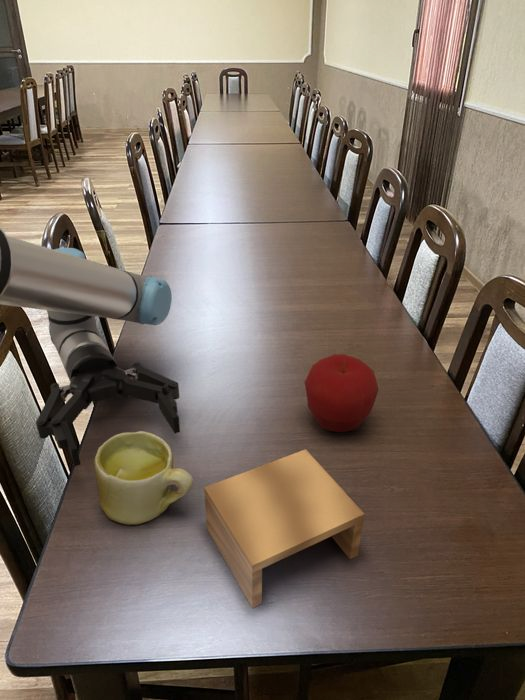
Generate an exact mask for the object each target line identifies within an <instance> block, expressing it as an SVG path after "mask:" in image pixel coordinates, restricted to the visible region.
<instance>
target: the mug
mask: <svg viewBox="0 0 525 700" xmlns="http://www.w3.org/2000/svg"><path fill="white" fill-rule="evenodd" d="M93 464H94V472H95V478H96V483H97V489H98V500H99V506H100V507H101V509H102V511H103V512H104V514H105V516H106V517H108V518H109V520H112V521H114V522H116V523H119V524H121V525H122V524H123V525H130V526H131V525H135V526H136V525H140V524H143V523H146V522H150V521H152V520H154V519H155V518H157V517H159V516H160V515H162V514H163V513H164V512H165V511H166V510H167V509H168V507H169V506H170V504H172V503H174V502H176V501H178V500H179V499H182V498H183V497H184V496H185V495H186V494H187V493H188V492H189V490H190V489H191V488H192V486H193V484H194V478H193V477H192V475H191V474H190V473H189V472H187V471H186V470H184V469H183V468H180V467H174V455H173V451H172V449H171V447H170V445H169V444H168V442H167V441H165V440H164V439H163V438H162V437H160V436H158V435H156V434H155V433H152V432H149V431H143V430H139V431H136V432H135V431H134V432H129V431H128V432H127V431H126V432H121V433H117V434H115V435H113V436H112V437H109V438H108V439H107V440H106V441H104V442H103V443H102V445H100V446H99V447H98V448H97V451H96V453H95V456H94V461H93ZM171 486H176V487H177V488H175V489H174V490H171Z"/></svg>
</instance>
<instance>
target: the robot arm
mask: <svg viewBox="0 0 525 700" xmlns="http://www.w3.org/2000/svg"><path fill="white" fill-rule="evenodd" d="M172 297H173V296H172V290H171V287H170V284H169V282H167V280H165V279H163V278H159V277H154V276H152V275H143V274H138V273H134V272H131V271H126V270H122V269H121V268H117V267H115V266H114V267H113V266H110V265H107V264H104V263H101V262H97V261H94V260H90V259H87V258H86V256H85V253H84V252H83V251H81V250H80V249H77V248H74V247H60V248H55V249H53V248H49V247H45V246H42V245H39V244H35V243H32V242H29V241H26V240H22V239H19V238H16V237H12V236H9V235H7V234H6V232H5V231H4V230H3V228H2V227H0V305H2V306H10V307H19V308H25V309H26V308H27V309H33V310H42V311H46V312H47V320H48V333H49V336H50V341H51V344H52V345H53V346H54V348H55V350H56V352H57V354H58V356H59V358H60V361H61V363H62V366H63V368H64V371H65V373H66V375H67V378H68V380H69V381H70V383H69V384H67V385H63V386H60V384H59V383H58V382H54V383H51V384H50V386H49V387H50V393H49V396H48V397H47V399H46V402H45V403H44V406H43V408H42V409H41V412H40V414H39V415H38V417H37V419H36V421H35V425H36V429H37V433H38V436H39V439H42V440H43V439H47V438H48V437H49V436H53V438H54V440H55V442H56V444H57V448H58V449H60V450H62V449H65V448H67V449H68V451H69V454H70V458H71V460H72V463H73V465H74V467H77V466H80V465H81V459H80V455H79V451H78V450H79V449H78V447H77V445H76V441H75V439H74V436H73V434H72V431H71V429H70V427H71V426H72V424H73V423H74V422H75V421H76V419H77V418H78V416H80V414H81V413H82V412H83V411H84V410H87V409H88V408H89V407H90V405H91V404H92V402H94V403H98V402H101V401H103V400H105V399H112V398H115V397H120V398H124V399H128V397H130V398H135V399H138V400H143V401H146V402H151V403H154V404H158V409H159V411H160V412H161V414H162V416H163V417H164V419H165V420H166V422H167V424H168V426H170V428H171V430H172V431H173V433H174V434H178V433H180V432H181V426H180V417H179V415H178V403H177V401H176V400H178V399H180V385H179V382H177V381H175V380H173V379H170V378H168V377H166V376H163V375H162V374H159V373H157V372H155V371H153V370H150V369H148V368H146V367H144V366H143V364H141V363H140V362H138V361H136V362H133V363H132V368H131V367H130V368H128V369H126V370H125V369H123V368H120V367H119V365H118V364H117V361H116V360H115V358H114V356H113V354H112V353H111V352H110V349H109V348H108V346H107V345H106V343H105V342H104V340H103V338H102V337H101V335H100V333H99V330H98V327H97V320H96V317H97V318H104V319H111V320H119V321H126V322H132V323H135V324H140V325H150V326H159V325H161V324H162V323H163V322H165V320H166V319H167V318H168V316H169V314H170V311H171V307H172V299H173V298H172ZM69 395H71V397H70V398H68V396H69ZM67 398H68V400H67ZM63 403H65V404H63Z"/></svg>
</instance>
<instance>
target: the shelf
mask: <svg viewBox="0 0 525 700" xmlns="http://www.w3.org/2000/svg"><path fill="white" fill-rule="evenodd" d="M203 492H204V505H205V507H204V508H205V522H206V530H207V532H208V533H209V535H210V537H211V539H212V540H213V542H214V544H215V546H216V547H217V549H218V551H219V553H220V555H221V556H222V558H223V560H224V562H225V563H226V565H227V567H228V569H229V570H230V572H231V573H232V575H233V577H234V579H235V580H236V583H237V585H238V586H239V588H240V590H241V591H242V593H243V595H244V597H245V598H246V600H247V601H248V603H249V606H250V607H251V608H252V609H253V608H255V607H258V606H259V605H261V604H262V603H263V569H264V568H266V567H269V566H270V565H273V564H275V563H277V562H279V561H282V560H283V559H286V558H288V557H290V556H292V555H295V554H297V553H299V552H300V551H303V550H305V549H307V548H309V547H311V546H314V545H316V544H318V543H320V542H322V541H324V540H326V539H328V538H330V537H331V538H332V539H333V540H334V542H335V543H336V544H337V545H338V546H339V548H340V549H341V550H342V551H343V553H344V554H345V555H346V557H347V558H348V559H349V560H351V559H354V558H355V557H358V556H359V552H360V544H361V537H362V531H363V524H364V519H365V512H363V511H362V509H361V508H360V507H359V506H358V505H357V504H356V503H355V501H353V500H352V498H351V497H350V496H349V495H348V494H347V493H346V492H345V491H344V489H343V488H342V487H341V486H340V485H339V484H338V483H337V482H336V480H335V479H333V477H332V476H331V475H330V474H329V473H328V472H327V471H326V469H324V467H322V465H321V464H320V463H319V462H318V461H317V460H316V459H315V458H314V456H313V455H312V454H311V453H310V452H309V451H308V450H307V449H306V448H305V449H302V450H300V451H297V452H294V453H292V454H289V455H286V456H284V457H281V458H278V459H276V460H274V461H271V462H268V463H265V464H262V465H260V466H258V467H255V468H252V469H249V470H247V471H243V472H242V473H239V474H236V475H233V476H230V477H227V478H225V479H222V480H220V481H218V482H215V483H213V484H210V485H206V486H204V487H203Z"/></svg>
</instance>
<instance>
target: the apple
mask: <svg viewBox="0 0 525 700" xmlns="http://www.w3.org/2000/svg"><path fill="white" fill-rule="evenodd" d="M304 387H305V392H306V399H307V407H308V409H309V410H310V412H311V414H312V416H313V418H314V420H315V421H316V423H317V425H319V426H320V427H322V428H323V429H325V430H327V431H331V432H335V433H345V432H349V431H353V430H355V429H357V428H358V427H359V426H360V425H361V424H362V423H363V422H364V421H365V419H367V417H368V416H370V414H371V412H372V410H373V408H374V406H375V402H376V399H377V395H378V392H379V385H378V382H377V376H376V373H375V371H374V370H373V369H372V368H371V367H370V366H369V365H368V364H366V362H364V361H363V360H361V359H358V358H357V357H354V356H352V355H348V354H345V353H343V354H340V353H339V354H338V353H337V354H335V353H334V354H332V355H330V356H329V355H328V356H326V357H323V358H321V359H319V360H317V361H316V362H315V363H313V364H312V366H311V367H310V369H309V371H308V374H307V376H306V378H305V380H304Z"/></svg>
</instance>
